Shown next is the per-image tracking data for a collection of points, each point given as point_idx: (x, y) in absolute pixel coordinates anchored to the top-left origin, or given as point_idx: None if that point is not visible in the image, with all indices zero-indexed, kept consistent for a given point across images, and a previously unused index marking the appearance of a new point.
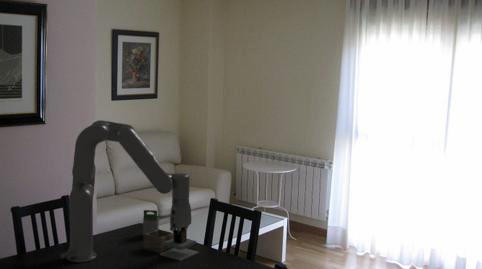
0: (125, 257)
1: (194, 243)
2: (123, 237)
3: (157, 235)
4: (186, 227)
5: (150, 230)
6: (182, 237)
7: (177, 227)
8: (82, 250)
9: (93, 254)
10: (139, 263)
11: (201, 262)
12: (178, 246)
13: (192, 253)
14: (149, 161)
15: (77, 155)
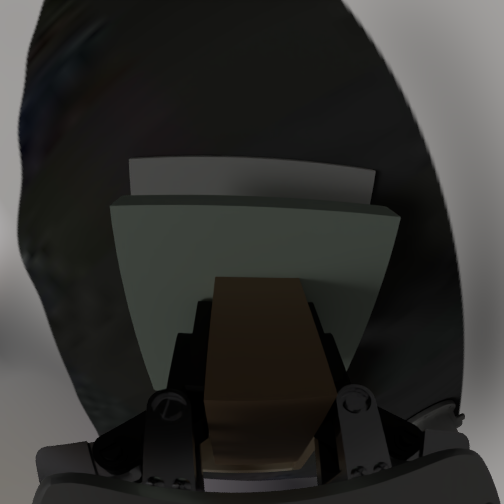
0: (403, 384)
1: (146, 197)
2: None
3: (202, 445)
4: (151, 453)
5: None
6: (313, 329)
7: (479, 457)
8: (454, 426)
9: (418, 422)
10: (454, 316)
11: (312, 17)
12: (385, 257)
13: (194, 176)
14: None
15: None
